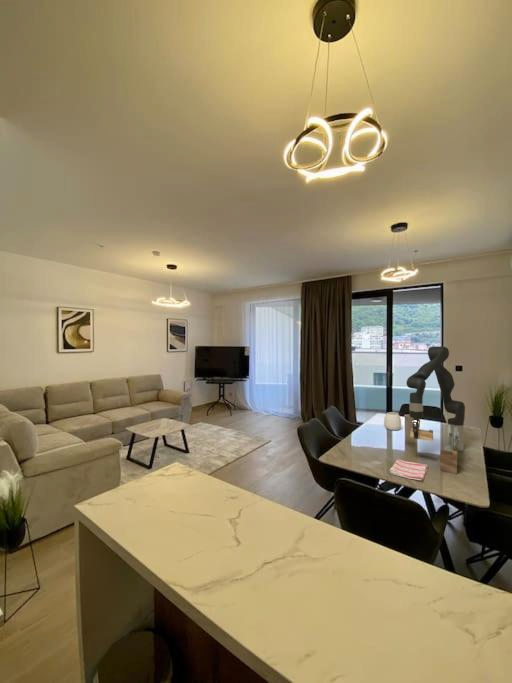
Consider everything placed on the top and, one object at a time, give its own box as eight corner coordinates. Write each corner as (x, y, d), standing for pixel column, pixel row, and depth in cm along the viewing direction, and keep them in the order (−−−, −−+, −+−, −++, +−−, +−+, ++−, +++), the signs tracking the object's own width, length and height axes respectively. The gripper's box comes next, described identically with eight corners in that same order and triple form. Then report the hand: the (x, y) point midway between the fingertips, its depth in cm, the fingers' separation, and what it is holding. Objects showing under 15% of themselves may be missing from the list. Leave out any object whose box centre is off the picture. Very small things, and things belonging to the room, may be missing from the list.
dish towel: (388, 475, 167) (388, 468, 167) (397, 461, 186) (397, 455, 186) (422, 483, 157) (422, 477, 157) (428, 468, 176) (428, 462, 176)
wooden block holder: (440, 464, 180) (440, 441, 180) (457, 467, 176) (457, 443, 176) (440, 470, 171) (440, 446, 171) (457, 474, 167) (457, 449, 167)
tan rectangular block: (411, 436, 189) (411, 427, 189) (433, 439, 182) (433, 430, 182) (410, 437, 185) (410, 428, 185) (432, 441, 179) (432, 431, 179)
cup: (403, 429, 252) (403, 413, 252) (398, 432, 243) (398, 416, 243) (387, 426, 261) (387, 410, 261) (381, 429, 252) (381, 413, 252)
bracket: (460, 468, 173) (460, 434, 173) (445, 466, 177) (445, 432, 177) (456, 453, 197) (456, 423, 197) (443, 451, 201) (443, 421, 201)
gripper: (410, 406, 193) (411, 433, 193) (407, 411, 181) (408, 439, 181) (424, 408, 189) (424, 435, 189) (421, 412, 177) (422, 441, 177)
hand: (416, 437), depth 185 cm, fingers closed on tan rectangular block, 4 cm apart
